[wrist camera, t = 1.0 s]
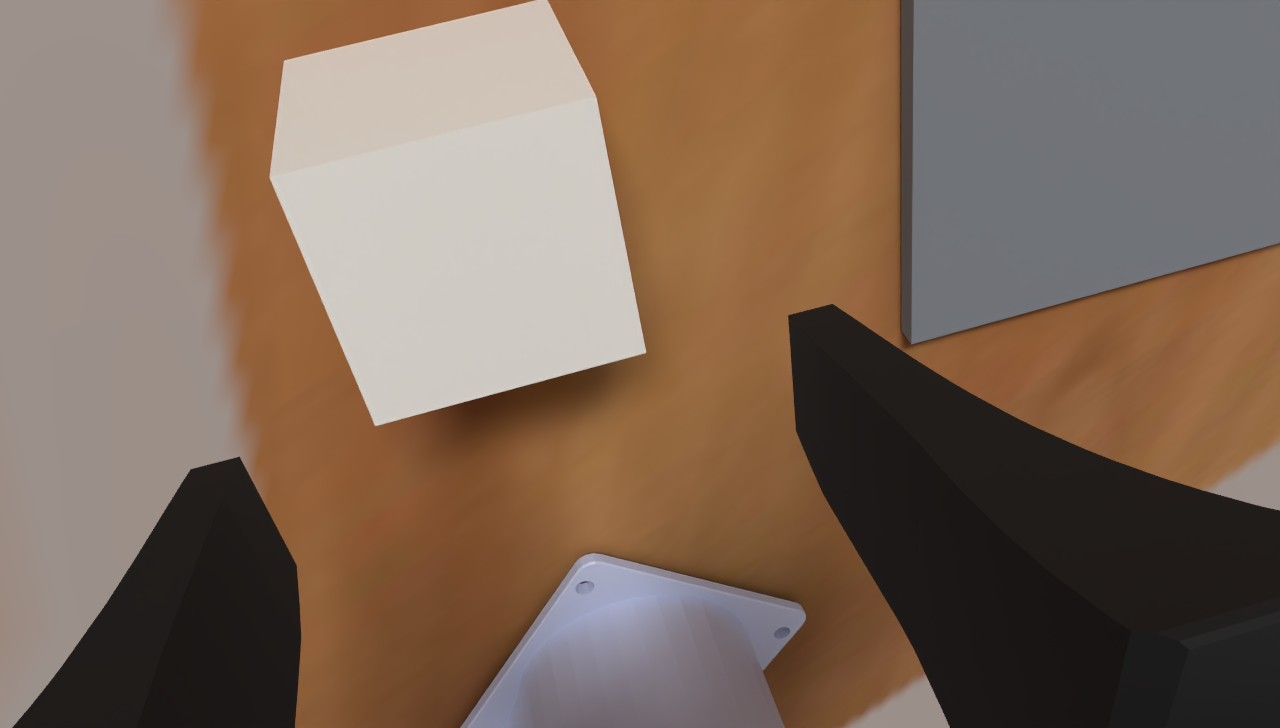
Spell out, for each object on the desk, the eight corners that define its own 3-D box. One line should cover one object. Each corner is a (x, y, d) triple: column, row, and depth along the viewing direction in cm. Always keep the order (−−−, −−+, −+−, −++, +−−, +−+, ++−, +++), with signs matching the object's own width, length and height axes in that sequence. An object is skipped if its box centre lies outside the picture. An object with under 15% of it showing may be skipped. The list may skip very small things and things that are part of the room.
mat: (1293, 223, 27) (1310, 234, 27) (901, 331, 26) (911, 344, 26) (1422, -251, 21) (1447, -247, 20) (901, -129, 20) (914, -122, 19)
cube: (593, 222, 23) (646, 352, 19) (369, 280, 22) (375, 425, 18) (545, -4, 20) (595, 96, 16) (284, 58, 19) (269, 177, 15)
